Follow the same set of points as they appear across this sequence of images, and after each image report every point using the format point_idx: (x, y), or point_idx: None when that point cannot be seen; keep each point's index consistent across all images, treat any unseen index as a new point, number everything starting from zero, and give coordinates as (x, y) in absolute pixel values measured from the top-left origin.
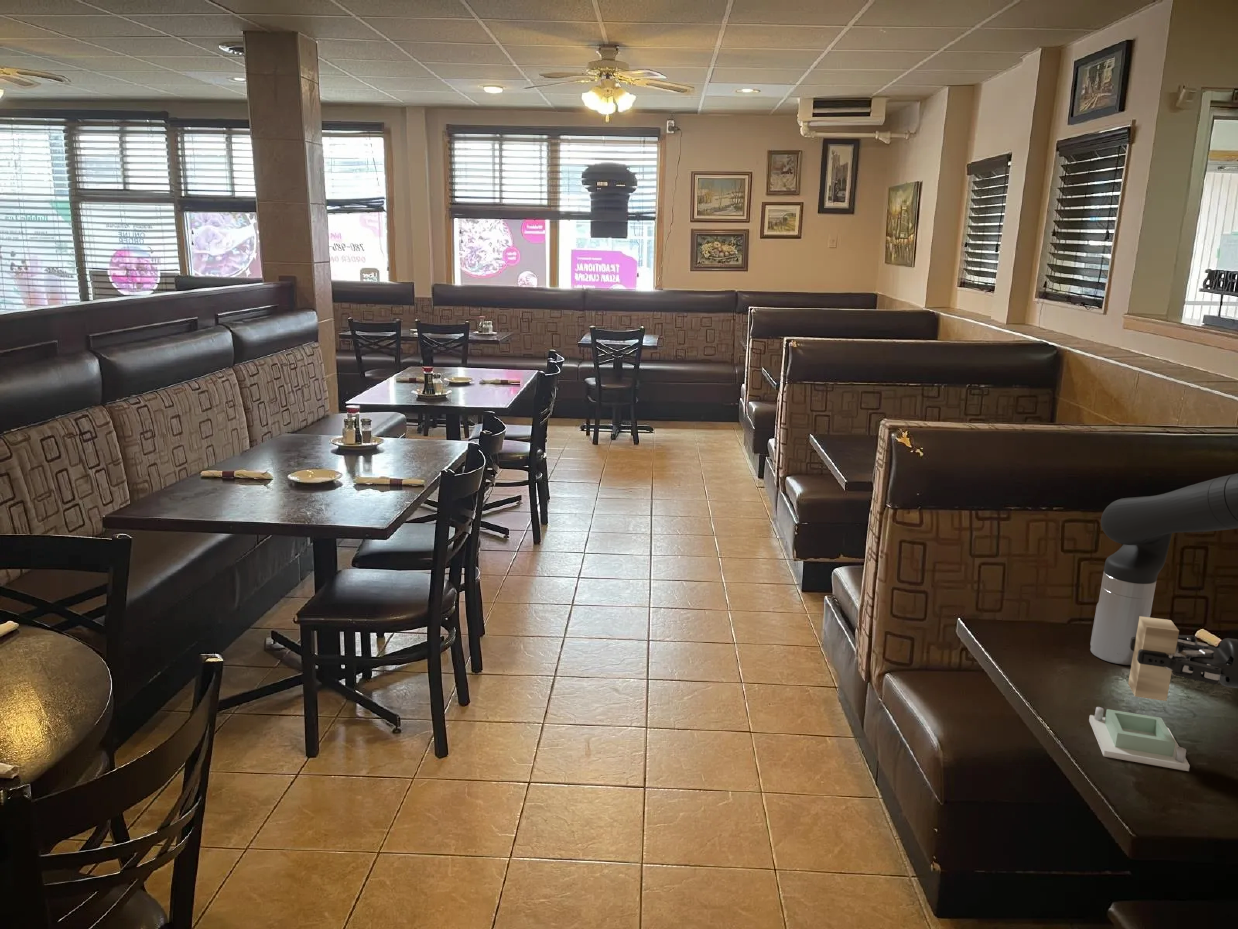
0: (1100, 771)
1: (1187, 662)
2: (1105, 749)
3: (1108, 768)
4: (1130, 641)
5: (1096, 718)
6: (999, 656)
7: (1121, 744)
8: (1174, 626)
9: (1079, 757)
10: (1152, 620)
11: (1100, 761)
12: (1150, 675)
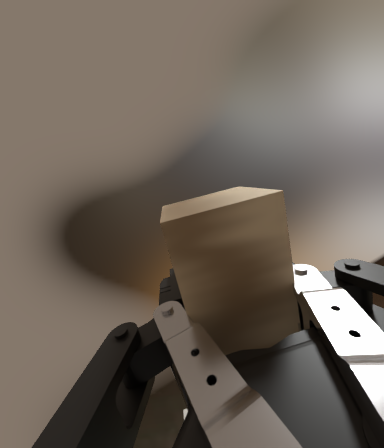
0: (143, 418)
1: (98, 359)
2: (187, 410)
3: (155, 430)
4: None
5: None
6: None
7: None
8: (208, 208)
9: (173, 385)
10: (226, 193)
11: (173, 415)
12: None
